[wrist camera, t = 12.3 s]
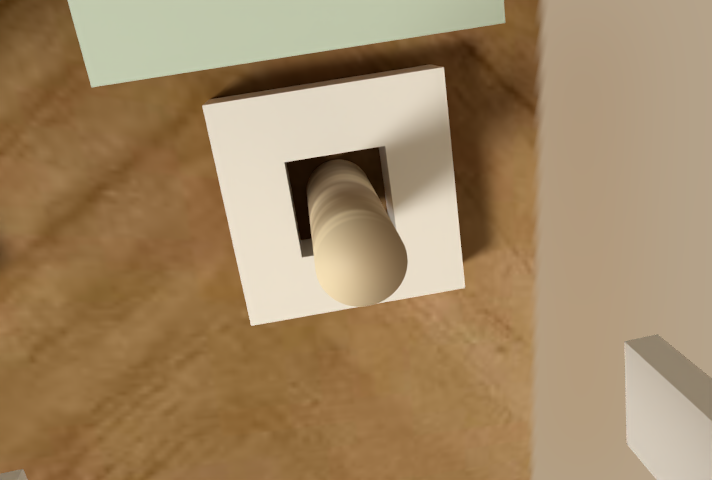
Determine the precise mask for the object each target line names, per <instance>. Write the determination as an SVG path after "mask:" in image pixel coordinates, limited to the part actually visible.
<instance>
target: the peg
mask: <svg viewBox="0 0 712 480" xmlns="http://www.w3.org/2000/svg"><path fill="white" fill-rule="evenodd" d="M307 200H308V209H309V218H310V227H311V235H312V244H313V253H314V262H315V271H316V275H317V279H318V281H319V283H320V285H321V287H322V288H323V289H324V291H325V292H326V293H327V294H328V295H329V296H330V297H332V298H333V299H334V300H336V301H338V302H340V303H342V304H345V305H349V306H355V307H364V306H370V305H374V304H377V303H380V302H381V301H383V300H385V299H387V298H388V297H390V296H391V295H392V294H393V293H394V292H395V291H396V290H397V289H398V288H399V286H400V285H401V283H402V281H403V279H404V277H405V274H406V271H407V264H408V259H407V252H406V248H405V245H404V243H403V241H402V240H401V238H400V236H399V234H398V232H397V230H396V229H395V227H394V225H393V223H392V221H391V220H390V218H389V216H388V214H387V212H386V210H385V209H384V207H383V205H382V203H381V201H380V200H379V198H378V196H377V194H376V192H375V190H374V189H373V187H372V185H371V183H370V181H369V179H368V178H367V176H366V174H365V173H364V171H363V170H362V169H361V168H360V167H359V166H358V165H356V164H355V163H353V162H351V161H348V160H343V159H335V160H330V161H327V162H325V163H323V164H321V165H320V166H318V167H317V168H316V169H315V170H314V171H313V172H312V174H311V176H310V178H309V180H308V183H307Z"/></svg>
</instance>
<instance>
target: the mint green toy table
mask: <svg viewBox="0 0 712 480" xmlns="http://www.w3.org/2000/svg"><path fill="white" fill-rule="evenodd" d="M68 4H69V7H70V11H71V15H72V18H73V22H74V26H75V29H76V33H77V36H78V40H79V44H80V47H81V51H82V55H83V58H84V62H85V65H86V69H87V73H88V76H89V80H90V84H91V87H96V86H103V85H109V84H116V83H122V82H129V81H135V80H141V79H148V78H154V77H161V76H167V75H174V74H180V73H186V72H193V71H199V70H206V69H212V68H219V67H225V66H231V65H238V64H244V63H251V62H257V61H264V60H270V59H276V58H283V57H289V56H296V55H302V54H309V53H315V52H321V51H328V50H334V49H341V48H347V47H353V46H360V45H366V44H373V43H379V42H386V41H392V40H398V39H405V38H411V37H418V36H424V35H431V34H437V33H443V32H450V31H456V30H463V29H469V28H476V27H482V26H488V25H495V24H501V23H505V11H504V0H68Z"/></svg>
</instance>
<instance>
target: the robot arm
mask: <svg viewBox="0 0 712 480" xmlns="http://www.w3.org/2000/svg"><path fill="white" fill-rule="evenodd" d="M625 380H626V381H625V382H626V426H627V445H628V446H629V447H630V448H631V449H632V451H633V452H634V453H635V454H636V455H637V457H638V458H639V459H640V460H641V461H642V463H643V464H644V465H645V466H646V467H647V469H648V470H649V471H650V472H651V473H652V475H653V476H654V477H655V478H656V479H657V480H712V378H711V377H709V376H708V375H707V374H706V373H704V372H703V371H702V370H701V369H699V368H698V367H697V366H696V365H695V364H693V363H692V362H691V361H690V360H688V359H687V358H686V357H685V356H684V355H682V354H681V353H680V352H679V351H677V350H676V349H675V348H674V347H672V346H671V345H670V344H669V343H668V342H666V341H665V340H664V339H663V338H661V337H660V336H659V335H653V336H649V337H644V338H639V339H634V340H629V341H625ZM0 480H28V479H27V477H26V475H25V472H24V470H23V469H21V470H16V471H11V472H6V473H2V474H0Z"/></svg>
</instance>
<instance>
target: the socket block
mask: <svg viewBox="0 0 712 480" xmlns="http://www.w3.org/2000/svg"><path fill="white" fill-rule="evenodd" d="M202 107H203V111H204V116H205V120H206V125H207V129H208V134H209V138H210V143H211V147H212V152H213V156H214V161H215V165H216V170H217V174H218V179H219V183H220V188H221V192H222V197H223V201H224V206H225V210H226V215H227V219H228V224H229V228H230V233H231V237H232V242H233V246H234V251H235V255H236V260H237V264H238V269H239V273H240V278H241V282H242V287H243V291H244V296H245V300H246V305H247V309H248V314H249V318H250V323H251V326H253V325H258V324H264V323H270V322H275V321H281V320H287V319H292V318H298V317H304V316H309V315H315V314H321V313H326V312H332V311H338V310H343V309H349V308H354V307H355V306H349V305H345V304H342V303H340V302H338V301H336V300H334V299H333V298H332V297H330V296H329V295H328V294H327V293H326V292H325V291H324V289H323V288H322V287H321V285H320V283H319V281H318V279H317V275H316V271H315V262H314V253H313V244H312V238H310V239H304V240H301V238H300V233H299V228H298V222H297V217H296V211H295V206H294V200H293V195H292V189H291V184H290V179H289V173H288V168H287V162H290V161H296V160H302V159H308V158H314V157H320V156H326V155H332V154H338V153H345V152H351V151H357V150H363V149H369V148H375V147H379V153H380V160H381V168H382V175H383V182H384V190H385V197H386V205H387V212H388V216H389V218H390V220H391V221H392V223H393V225H394V227H395V229H396V230H397V232H398V234H399V236H400V238H401V240H402V241H403V243H404V245H405V248H406V252H407V259H408V264H407V271H406V274H405V277H404V279H403V281H402V283H401V285H400V286H399V288H398V289H397V290H396V291H395V292H394V293H393V294H392V295H391V296H390V297H388V298H387V299H385V300H383V301H381V302H380V303H383V302H388V301H394V300H400V299H405V298H411V297H417V296H422V295H428V294H433V293H439V292H445V291H450V290H456V289H462V288H465V282H464V271H463V261H462V251H461V240H460V230H459V219H458V209H457V199H456V188H455V178H454V167H453V157H452V147H451V136H450V126H449V116H448V105H447V95H446V84H445V74H444V67H441V66H436V65H432V64H430V65H424V66H417V67H411V68H405V69H398V70H392V71H386V72H379V73H373V74H367V75H360V76H354V77H348V78H341V79H335V80H329V81H322V82H316V83H310V84H303V85H297V86H291V87H284V88H278V89H272V90H265V91H259V92H253V93H246V94H240V95H234V96H227V97H221V98H215V99H209V100H208V101H207V102H206V103H205V104H203V105H202Z"/></svg>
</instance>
